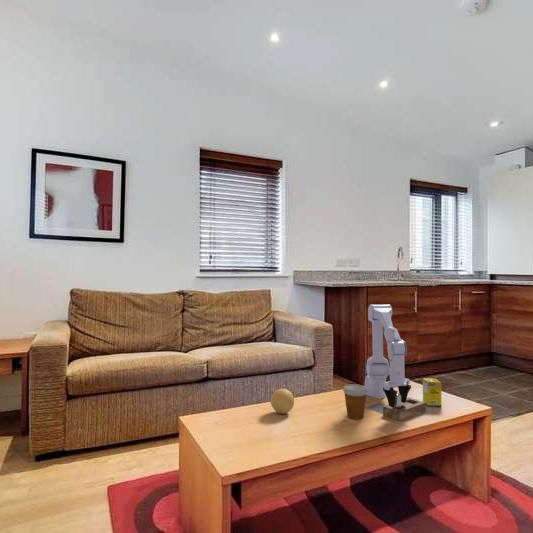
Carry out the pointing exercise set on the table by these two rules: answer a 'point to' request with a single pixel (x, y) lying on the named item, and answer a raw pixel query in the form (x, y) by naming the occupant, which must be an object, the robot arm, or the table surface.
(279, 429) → the table surface
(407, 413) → the socket block
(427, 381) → the supplement box
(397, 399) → the peg
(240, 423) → the table surface
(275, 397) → the stress ball
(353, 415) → the disposable coffee cup
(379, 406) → the mat
